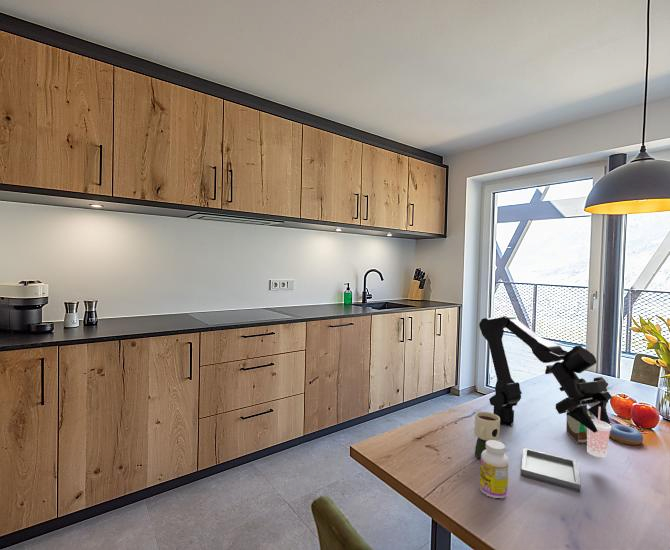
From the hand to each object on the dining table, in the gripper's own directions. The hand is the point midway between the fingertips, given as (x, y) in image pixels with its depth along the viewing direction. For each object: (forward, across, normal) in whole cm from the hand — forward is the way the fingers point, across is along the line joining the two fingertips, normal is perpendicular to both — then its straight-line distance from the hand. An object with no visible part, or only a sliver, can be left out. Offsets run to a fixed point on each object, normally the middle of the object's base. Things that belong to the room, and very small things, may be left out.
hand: (603, 430), depth 108 cm
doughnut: (+2, +29, +16) cm, 33 cm away
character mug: (-4, -26, +21) cm, 34 cm away
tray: (+5, -14, +12) cm, 20 cm away
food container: (-2, +15, +19) cm, 24 cm away
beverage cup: (+5, 0, +6) cm, 8 cm away
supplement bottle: (+6, -37, +12) cm, 40 cm away
